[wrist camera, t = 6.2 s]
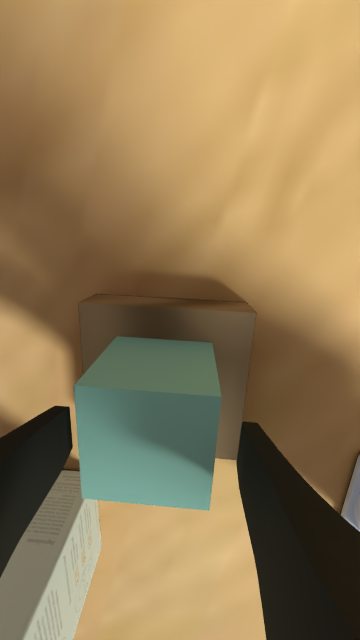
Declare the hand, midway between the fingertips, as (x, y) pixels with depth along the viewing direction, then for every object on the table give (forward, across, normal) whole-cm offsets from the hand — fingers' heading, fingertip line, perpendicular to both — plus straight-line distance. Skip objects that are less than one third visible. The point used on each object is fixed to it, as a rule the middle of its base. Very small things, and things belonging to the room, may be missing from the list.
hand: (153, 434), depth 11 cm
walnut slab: (+7, 0, 0) cm, 7 cm away
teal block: (+4, 0, 0) cm, 4 cm away
